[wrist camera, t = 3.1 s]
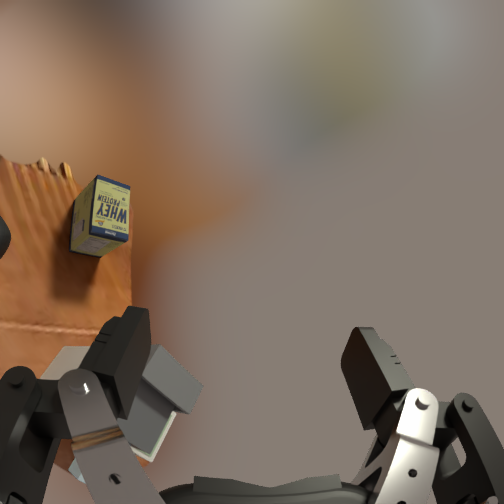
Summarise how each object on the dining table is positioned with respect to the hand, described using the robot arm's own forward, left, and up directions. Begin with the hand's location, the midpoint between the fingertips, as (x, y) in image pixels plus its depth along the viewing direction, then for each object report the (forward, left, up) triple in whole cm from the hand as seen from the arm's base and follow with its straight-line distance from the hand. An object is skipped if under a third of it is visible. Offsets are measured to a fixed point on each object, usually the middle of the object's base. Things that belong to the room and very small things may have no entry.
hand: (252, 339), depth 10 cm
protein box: (+21, +32, -64) cm, 74 cm away
